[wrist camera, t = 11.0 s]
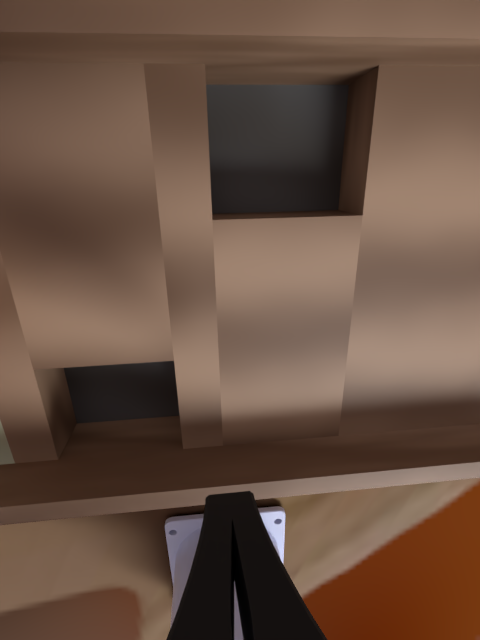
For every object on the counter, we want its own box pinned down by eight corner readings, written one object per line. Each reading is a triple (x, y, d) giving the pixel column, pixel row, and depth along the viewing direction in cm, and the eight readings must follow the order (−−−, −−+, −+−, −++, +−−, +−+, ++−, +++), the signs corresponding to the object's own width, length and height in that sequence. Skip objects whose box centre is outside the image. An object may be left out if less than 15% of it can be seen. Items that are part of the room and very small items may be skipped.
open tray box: (458, 404, 22) (535, 472, 17) (-48, 444, 19) (-137, 538, 14) (548, 59, 15) (721, -1, 10) (-211, 53, 13) (-489, -32, 8)
